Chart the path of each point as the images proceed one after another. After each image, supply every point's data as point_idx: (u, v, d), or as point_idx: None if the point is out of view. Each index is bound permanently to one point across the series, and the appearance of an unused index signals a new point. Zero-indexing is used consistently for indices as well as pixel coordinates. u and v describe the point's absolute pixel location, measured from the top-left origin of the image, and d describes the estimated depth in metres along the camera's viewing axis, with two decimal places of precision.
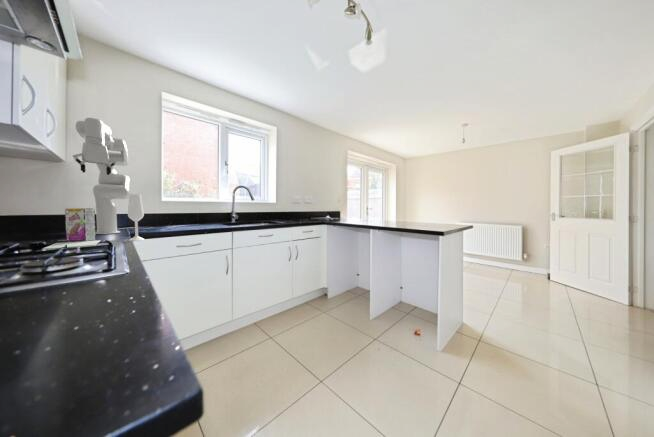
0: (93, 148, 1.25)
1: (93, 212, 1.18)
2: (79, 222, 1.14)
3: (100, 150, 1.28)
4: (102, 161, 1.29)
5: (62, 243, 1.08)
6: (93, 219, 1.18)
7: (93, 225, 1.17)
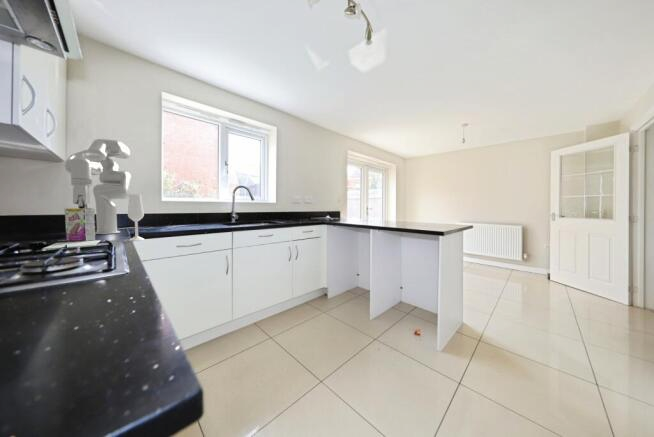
0: (88, 191, 1.23)
1: (93, 212, 1.18)
2: (79, 222, 1.14)
3: None
4: (89, 202, 1.25)
5: (62, 243, 1.08)
6: (93, 219, 1.18)
7: (92, 225, 1.17)
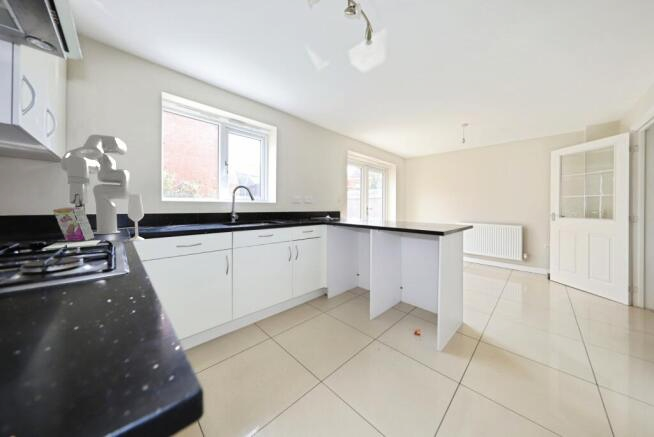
0: (85, 190, 1.17)
1: (83, 211, 1.14)
2: (72, 223, 1.11)
3: (86, 191, 1.20)
4: (86, 202, 1.20)
5: (62, 243, 1.08)
6: (86, 218, 1.15)
7: (87, 224, 1.15)
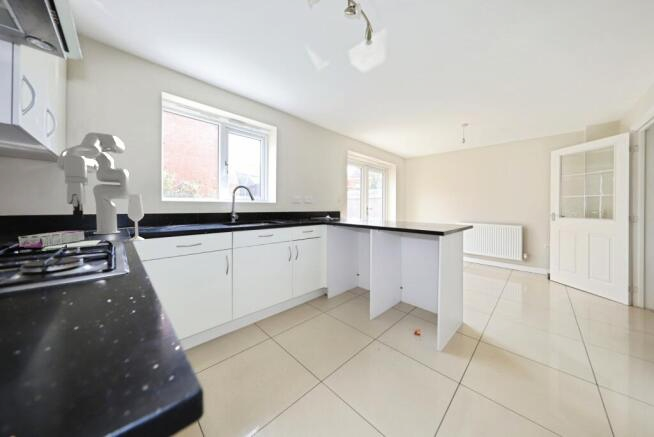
0: (83, 190, 1.14)
1: (47, 237, 1.00)
2: None
3: (84, 190, 1.16)
4: (84, 202, 1.16)
5: None
6: (57, 236, 1.03)
7: (65, 235, 1.06)
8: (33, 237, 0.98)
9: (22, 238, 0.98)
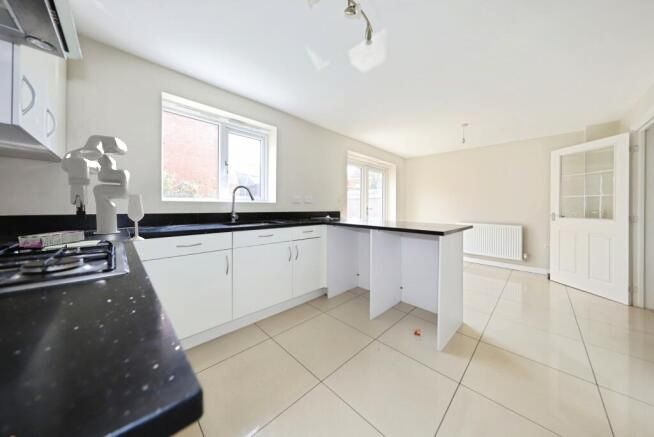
0: (86, 191, 1.18)
1: (47, 237, 1.00)
2: None
3: (87, 191, 1.21)
4: (87, 203, 1.21)
5: None
6: (57, 236, 1.03)
7: (65, 235, 1.06)
8: (33, 237, 0.98)
9: (22, 238, 0.98)
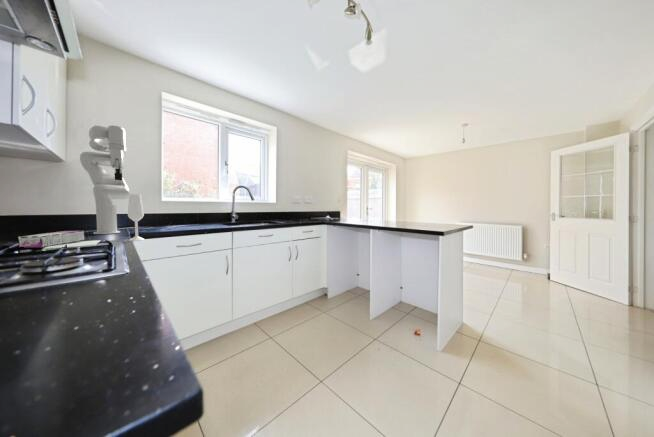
0: None
1: (47, 237, 1.00)
2: None
3: None
4: None
5: None
6: (57, 236, 1.03)
7: (65, 235, 1.06)
8: (33, 237, 0.98)
9: (22, 238, 0.98)
